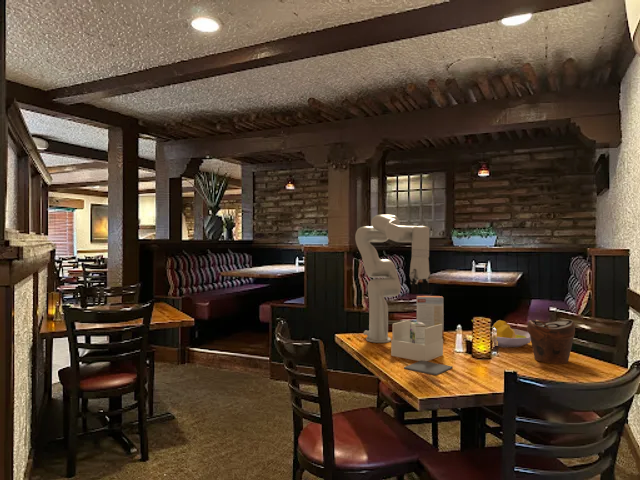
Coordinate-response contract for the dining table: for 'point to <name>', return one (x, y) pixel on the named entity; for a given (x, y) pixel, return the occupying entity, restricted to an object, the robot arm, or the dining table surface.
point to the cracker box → (430, 311)
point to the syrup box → (417, 333)
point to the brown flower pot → (551, 340)
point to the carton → (413, 350)
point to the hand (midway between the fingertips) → (419, 292)
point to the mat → (428, 367)
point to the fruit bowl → (510, 335)
